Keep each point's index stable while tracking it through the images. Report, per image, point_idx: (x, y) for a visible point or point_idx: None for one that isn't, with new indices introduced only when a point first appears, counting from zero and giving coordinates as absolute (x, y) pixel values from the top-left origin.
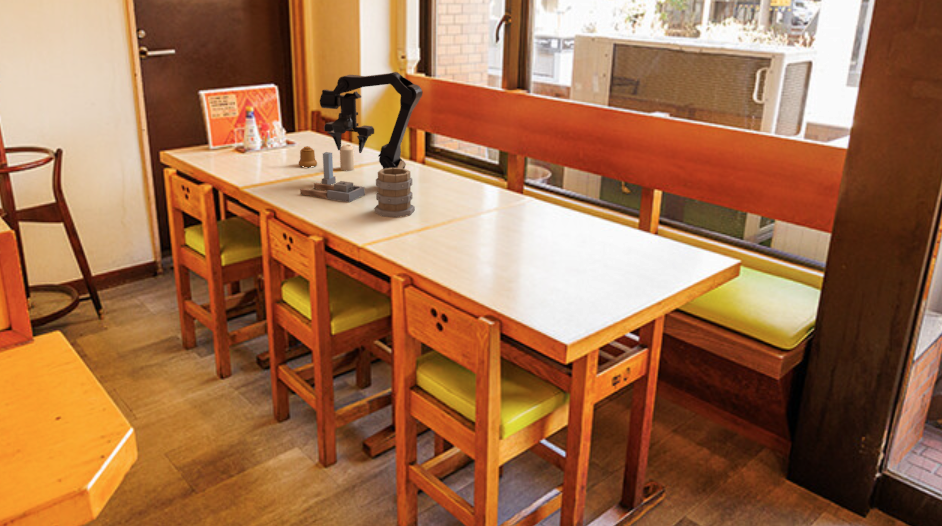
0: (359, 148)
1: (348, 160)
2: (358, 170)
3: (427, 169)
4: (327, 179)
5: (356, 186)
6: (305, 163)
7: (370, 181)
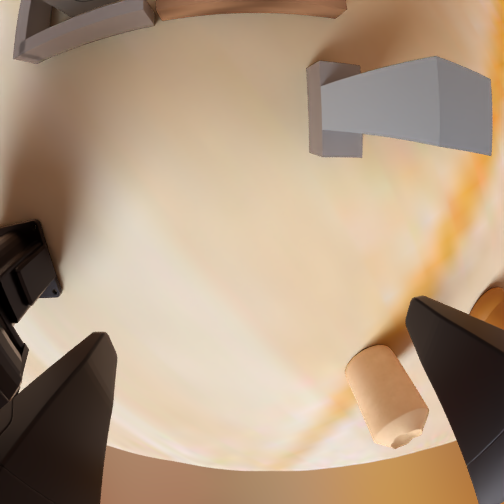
0: (68, 367)
1: (372, 385)
2: (323, 376)
3: (139, 451)
4: (323, 68)
5: (46, 30)
6: (496, 297)
7: (162, 280)
